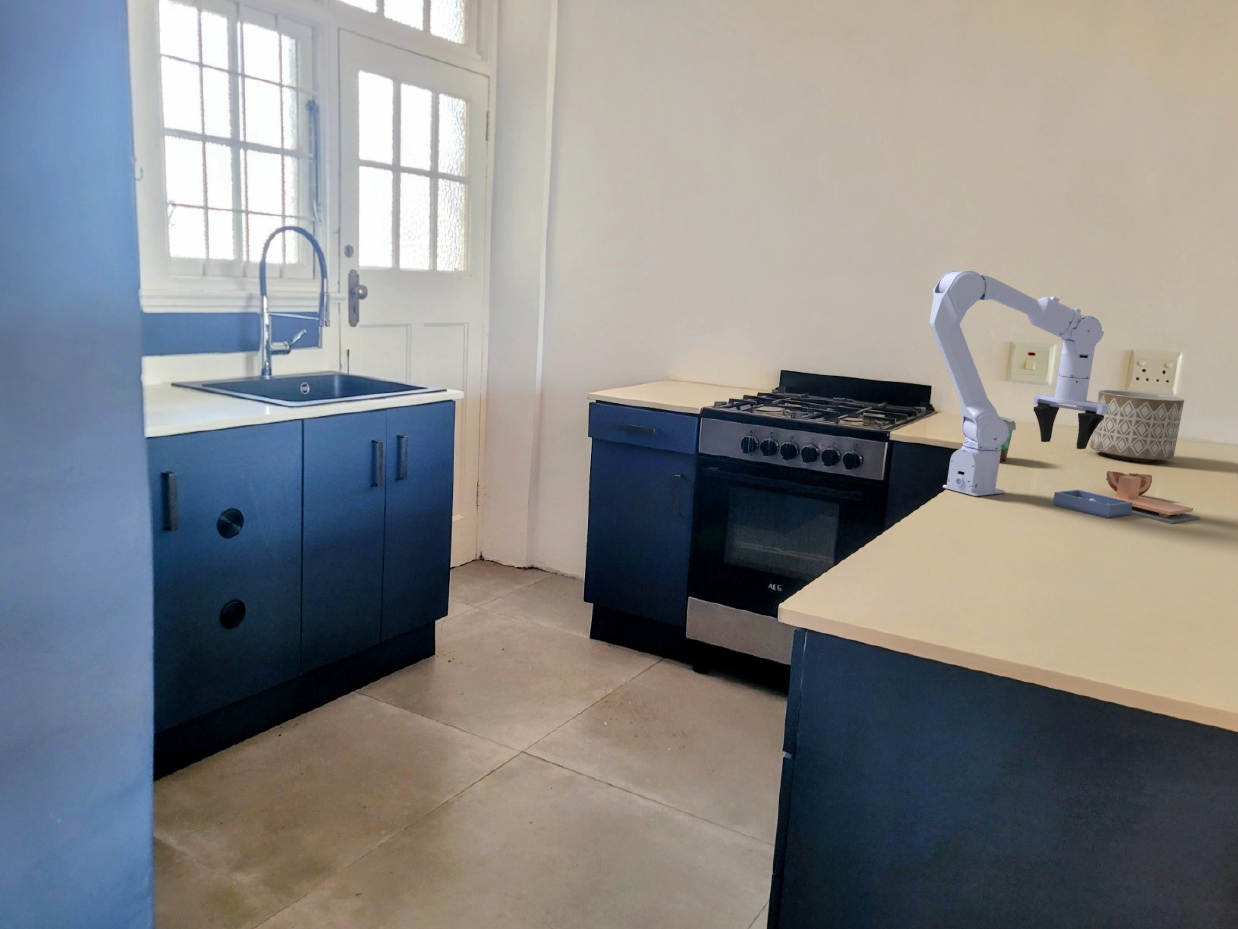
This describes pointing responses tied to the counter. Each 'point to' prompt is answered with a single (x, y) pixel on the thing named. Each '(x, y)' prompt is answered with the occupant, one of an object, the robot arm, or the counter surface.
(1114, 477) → the fruit slice
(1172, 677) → the counter surface
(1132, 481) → the lid
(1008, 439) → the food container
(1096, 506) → the blue box
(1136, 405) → the planter
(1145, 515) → the mat
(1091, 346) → the robot arm
